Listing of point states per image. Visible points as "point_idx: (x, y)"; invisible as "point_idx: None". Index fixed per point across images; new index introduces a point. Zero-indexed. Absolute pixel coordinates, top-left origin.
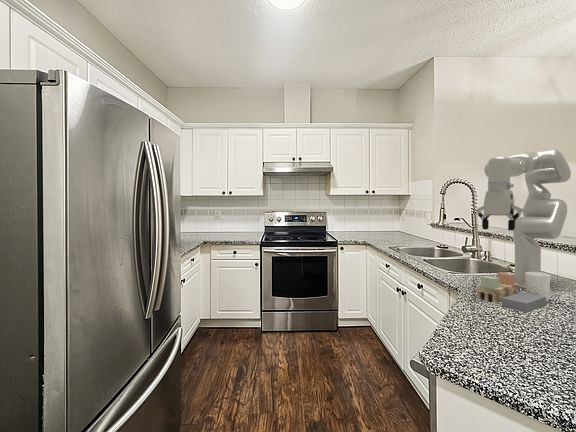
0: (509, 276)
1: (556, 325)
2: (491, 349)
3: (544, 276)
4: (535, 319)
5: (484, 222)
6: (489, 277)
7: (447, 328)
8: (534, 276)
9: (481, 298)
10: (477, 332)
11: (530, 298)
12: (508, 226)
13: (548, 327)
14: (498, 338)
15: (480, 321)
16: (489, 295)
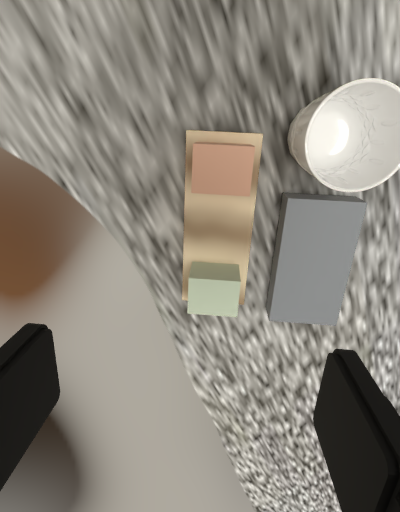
0: (247, 195)
1: (396, 360)
2: (332, 508)
3: (392, 173)
4: (355, 351)
5: (8, 473)
6: (214, 303)
7: (253, 485)
8: (351, 190)
9: None
10: (294, 473)
11: (331, 265)
12: (329, 459)
13: (384, 382)
14: (327, 475)
15: (276, 430)
16: None
